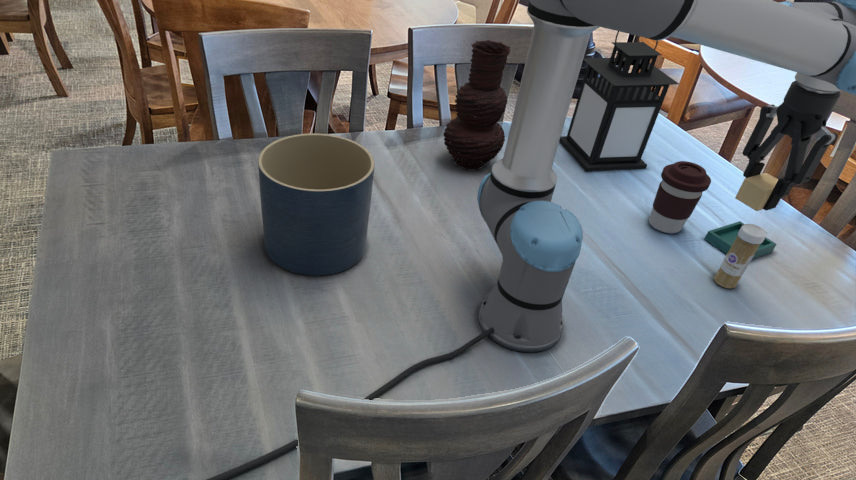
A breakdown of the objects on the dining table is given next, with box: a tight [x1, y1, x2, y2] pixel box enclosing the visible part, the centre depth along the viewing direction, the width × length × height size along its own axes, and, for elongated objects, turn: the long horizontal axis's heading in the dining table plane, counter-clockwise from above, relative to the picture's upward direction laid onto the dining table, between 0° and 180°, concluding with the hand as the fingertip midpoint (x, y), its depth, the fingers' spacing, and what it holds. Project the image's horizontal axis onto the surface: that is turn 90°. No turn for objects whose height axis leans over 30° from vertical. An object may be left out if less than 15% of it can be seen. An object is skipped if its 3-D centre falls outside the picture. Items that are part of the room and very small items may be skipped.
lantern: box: [559, 31, 680, 173], centre depth 160 cm, size 17×17×35 cm
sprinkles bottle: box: [713, 223, 768, 289], centre depth 126 cm, size 5×5×13 cm
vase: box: [442, 39, 511, 171], centre depth 154 cm, size 15×15×30 cm
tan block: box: [734, 172, 783, 212], centre depth 122 cm, size 6×5×4 cm
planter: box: [257, 133, 375, 277], centre depth 127 cm, size 22×22×20 cm
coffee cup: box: [648, 160, 712, 234], centre depth 141 cm, size 10×10×15 cm
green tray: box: [704, 221, 778, 260], centre depth 140 cm, size 11×10×2 cm
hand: (756, 200), depth 123 cm, fingers closed on tan block, 5 cm apart
